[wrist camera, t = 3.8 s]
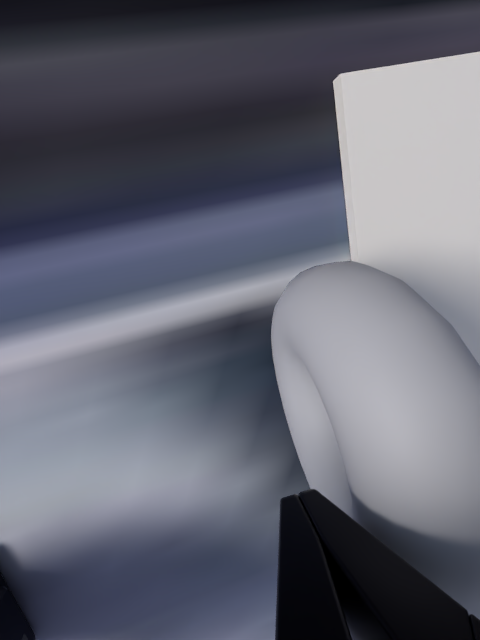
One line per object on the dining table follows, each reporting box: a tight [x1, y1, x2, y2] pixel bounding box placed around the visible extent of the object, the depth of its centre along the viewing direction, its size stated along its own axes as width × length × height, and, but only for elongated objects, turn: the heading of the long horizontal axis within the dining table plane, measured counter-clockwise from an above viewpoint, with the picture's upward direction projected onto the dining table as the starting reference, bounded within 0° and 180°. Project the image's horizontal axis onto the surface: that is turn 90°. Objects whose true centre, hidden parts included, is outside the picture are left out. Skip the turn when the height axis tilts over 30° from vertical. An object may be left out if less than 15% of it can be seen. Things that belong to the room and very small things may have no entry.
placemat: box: [333, 52, 480, 365], centre depth 16 cm, size 8×22×1 cm, turn 12°
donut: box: [271, 261, 480, 620], centre depth 10 cm, size 10×3×10 cm, turn 13°
